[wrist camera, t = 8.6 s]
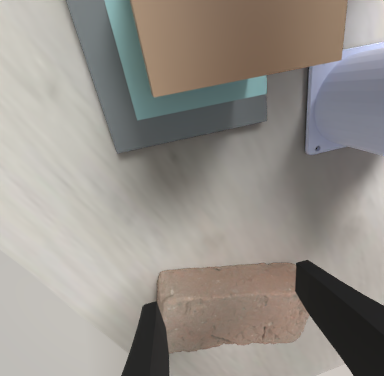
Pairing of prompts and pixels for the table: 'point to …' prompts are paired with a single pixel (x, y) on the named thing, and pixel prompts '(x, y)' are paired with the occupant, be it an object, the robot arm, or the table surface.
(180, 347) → the brick
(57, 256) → the table surface
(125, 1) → the base brick
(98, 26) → the baseplate
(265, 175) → the table surface
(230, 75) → the walnut block
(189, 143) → the table surface
